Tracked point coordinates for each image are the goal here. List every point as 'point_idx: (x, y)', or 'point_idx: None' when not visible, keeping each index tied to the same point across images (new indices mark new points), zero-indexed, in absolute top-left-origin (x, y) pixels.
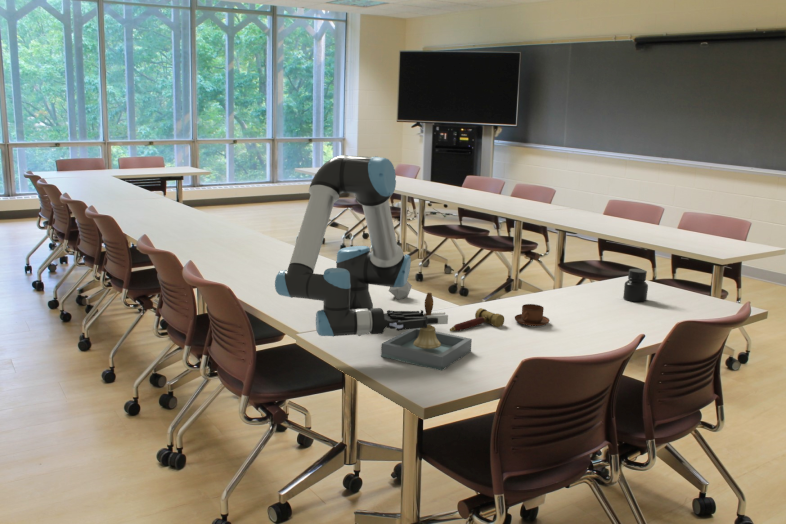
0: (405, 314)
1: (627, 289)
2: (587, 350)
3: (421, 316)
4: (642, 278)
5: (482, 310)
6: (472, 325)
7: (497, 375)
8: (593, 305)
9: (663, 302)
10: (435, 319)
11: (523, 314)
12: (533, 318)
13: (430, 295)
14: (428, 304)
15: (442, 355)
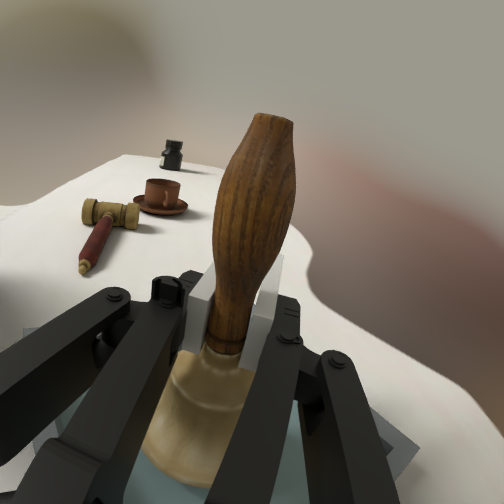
0: (109, 421)
1: (168, 158)
2: (294, 237)
3: (179, 328)
4: (181, 147)
5: (94, 202)
6: (105, 240)
7: (410, 367)
8: (157, 176)
9: (189, 169)
10: (298, 312)
11: (156, 196)
12: (173, 201)
13: (291, 139)
14: (286, 221)
15: (403, 441)
